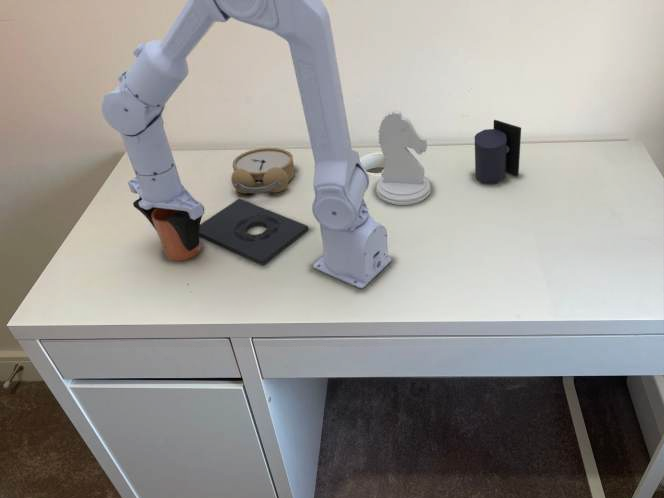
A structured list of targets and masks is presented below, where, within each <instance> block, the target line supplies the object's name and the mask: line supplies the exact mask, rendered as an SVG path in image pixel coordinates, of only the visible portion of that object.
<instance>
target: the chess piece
mask: <svg viewBox="0 0 664 498" xmlns="http://www.w3.org/2000/svg"><path fill="white" fill-rule="evenodd" d="M427 141H428V140H427V138H425V137H422V136H421V135H420V134H419V133H418V132H417V130H416V128H415V127H414V125H413V123H412V122H411V120H410V119H409V118H408V117H406V116H402V112H401V110H396V109H393V111H389V112H387V113H385V115H384V116H383V118H382V119H381V121H380V125H379V130H378V144H379V145H380V146H379V147H380V150H381V152H382V155H383V157H384V161H385V164H384V168H383V169H382V170H381V173H380V176H381V178H379V180H378V182H377V184H376V186H375V187H376V188H375V191H376V195H377V196H378V198H379V199H380V200H382V201H383V202H385V203H388V204H391V205H397V206H410V205H414V204H417V203H420V202H422V201H424V200H426V199H427V198H428V197H429V196H430V194H431V191H432V190H431V183H430V181H429V179H428V178H427V177H426V176H425V168H424V166H423V165H422V164H421V163H420V162H419V161H420V160H418V159H417V158H416V157H415V155H414V154H413V153H412V152H411V151H410V150H409V149H412V150H414V152H415V153H416V154H417V155H419V156H421V155H423V153H425V152H426V151H427V148H428V143H427Z"/></svg>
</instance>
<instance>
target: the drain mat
mask: <svg viewBox="0 0 664 498" xmlns="http://www.w3.org/2000/svg"><path fill="white" fill-rule="evenodd" d="M258 226H261V227H262V226H263V227H265V228H266V230H264V231H263V232H261V233H258V234H257V233H256V234H251V233H248V230H249V229H251V228H254V227H258ZM308 231H309V226H308V225H307V224H304V223H301V222H299V221H297V220H294V219H292V218H289V217H286V216H284V215H282V214H279V213H276V212H274V211H272V210H269V209H266V208H264V207H262V206H259V205H256V204H254V203H252V202H249V201H246V200H243V199H241V198H238V199H236V200H235V201H233V202H232V203H230V204H228V205H227V206H226V207H224V208H223V209H221V210H220V211H217V213H215V214H214V215H212V216H211V217H209V218H208V219H206V220H205V221H203V222H202V223H200V229H199V237H200V238H203V239H205V240H207V241H209V242H212V243H214V244H216V245H218V246H220V247H222V248H224V249H226V250H229V251H231V252H234V253H236V254H238V255H240V256H242V257H243V258H246V259H248V260H250V261H253V262H254V263H257V264H259V265H261V266H264V265H266V264H267V263H268V262H270V261H271V260H272V259H274V258H275V257H276V256H277V255H279V254H280V253H282V251H284V250H285V249H286V248H287V247H289V246H290V245H291V244H292V243H294V242H295V241H296V240H297V239H299V238H300V237H301V236H302V235H304V234H305V233H306V232H308Z"/></svg>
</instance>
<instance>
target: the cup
mask: <svg viewBox="0 0 664 498" xmlns="http://www.w3.org/2000/svg"><path fill="white" fill-rule="evenodd" d="M174 213H177V211H176V210H173V209H164V208H155V209H154V210H153V211H152V214H151V217H152V220H153V223H154V225H155V228H156V230H155V231H156V233H157V236H158V238H159V241H160V244H161V248H162V249H163V252H164V254H165V256H166V258H168V260H171V261H175V262H178V261H179V262H181V261H186V260H189V259H192V258H193V257H195V256H196V255H198V254H199V252H200V251H201V248H202V244H201V242H200V240H199V246H197V247H196V248H194V249H193V250H191V251H188V250H187V249H186V248H185V246H184V245H183V243H182V240H181V238H180V236H179V234H178V233H177V231H176V230H175V229H174V227H173V226H172V225H171V224H170V223H169V222H167V221H166V218H168V217H169V216H171V215H172V214H174ZM155 228H154V229H155Z"/></svg>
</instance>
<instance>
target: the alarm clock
mask: <svg viewBox="0 0 664 498" xmlns="http://www.w3.org/2000/svg"><path fill="white" fill-rule="evenodd" d="M232 168H233V172H232V174H231V177H230V178H231V184H232V186H233V188H234V190H236V191H237V192H238V193H241V194H245V195H246V194H247V195H248V194H262V193H267V192H270V193H274V194H276V193H281V192H283V191H284V190H285V189H286V187H287V186H288V183H289V182H290V181H291V180H292V179H293V178H294V176H296V170H295V164H294V156H293V154H292V153H291V152H290V151H288V150H286V149H284V148H277V147H263V148H262V147H261V148H256V149H250V150H248V151H245V152H243V153H242V152H241V154H239V155H237V156H235V158H234V159H233V161H232Z"/></svg>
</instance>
